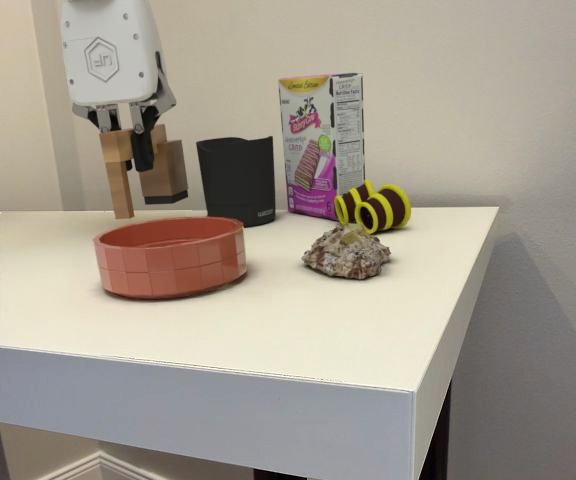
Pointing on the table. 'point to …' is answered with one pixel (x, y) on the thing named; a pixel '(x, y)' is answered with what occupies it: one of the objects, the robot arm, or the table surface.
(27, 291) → the table surface
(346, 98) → the candy bar box
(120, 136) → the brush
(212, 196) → the pen holder
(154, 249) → the bowl
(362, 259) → the mineral rock
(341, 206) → the opera glasses
